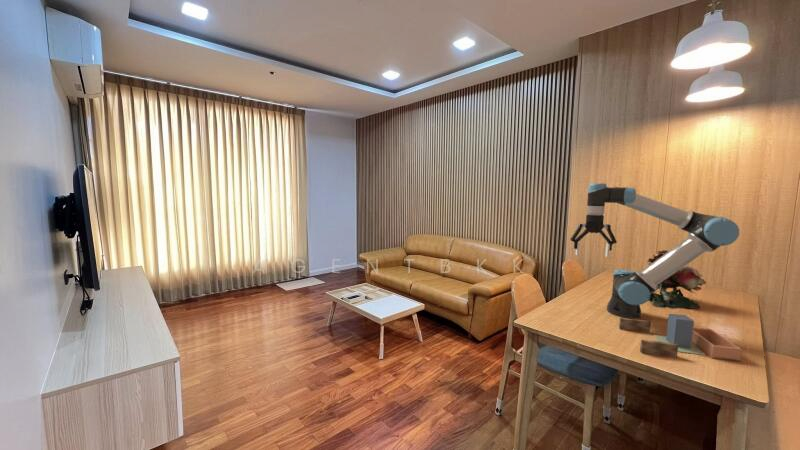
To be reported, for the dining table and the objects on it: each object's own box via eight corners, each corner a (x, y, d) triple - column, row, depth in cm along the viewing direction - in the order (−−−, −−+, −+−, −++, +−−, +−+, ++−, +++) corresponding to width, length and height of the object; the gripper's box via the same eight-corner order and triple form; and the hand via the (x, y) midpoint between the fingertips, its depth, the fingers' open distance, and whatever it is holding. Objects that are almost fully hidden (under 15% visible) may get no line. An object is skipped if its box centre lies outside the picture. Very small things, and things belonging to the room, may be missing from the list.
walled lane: (648, 331, 151) (649, 320, 150) (676, 357, 128) (678, 345, 127) (618, 328, 154) (619, 317, 154) (641, 353, 131) (642, 341, 131)
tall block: (682, 341, 140) (685, 315, 139) (690, 348, 134) (693, 320, 133) (666, 339, 142) (668, 313, 140) (673, 346, 136) (676, 319, 134)
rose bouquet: (710, 308, 179) (717, 255, 175) (658, 309, 178) (664, 255, 175) (670, 293, 205) (676, 246, 201) (625, 293, 204) (629, 246, 200)
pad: (685, 339, 143) (685, 338, 143) (705, 355, 130) (705, 354, 130) (653, 335, 146) (653, 335, 146) (670, 351, 133) (670, 350, 133)
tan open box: (709, 340, 142) (711, 329, 142) (740, 361, 125) (741, 349, 125) (685, 337, 145) (686, 326, 144) (711, 358, 128) (713, 346, 127)
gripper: (620, 214, 162) (617, 255, 165) (566, 213, 169) (563, 253, 171) (626, 215, 155) (622, 259, 158) (569, 214, 162) (566, 256, 164)
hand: (591, 256), depth 164 cm, fingers open, 13 cm apart
